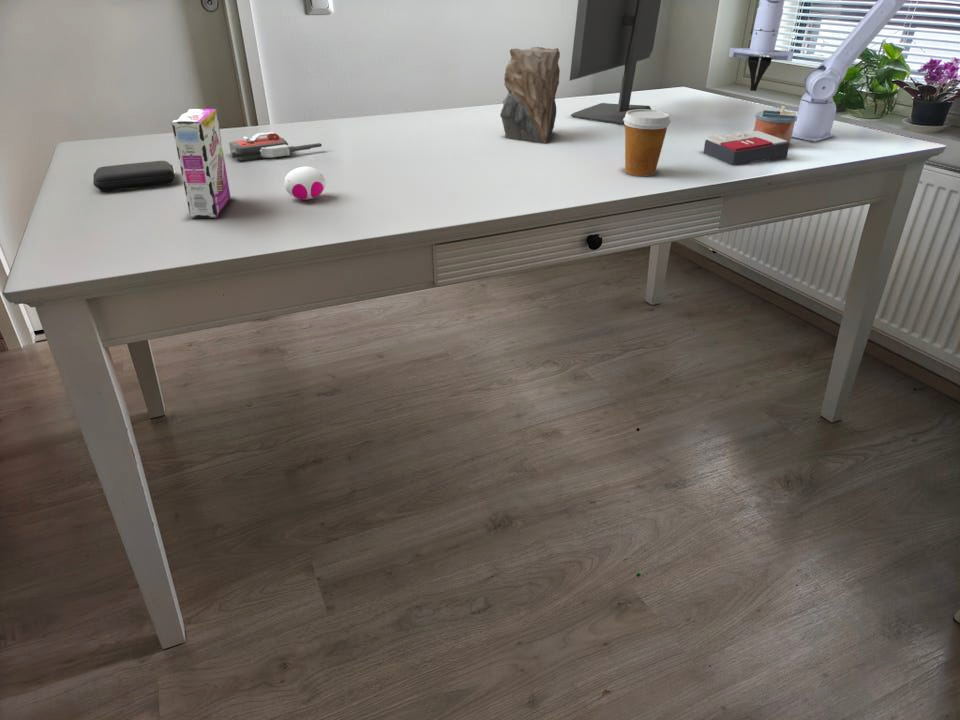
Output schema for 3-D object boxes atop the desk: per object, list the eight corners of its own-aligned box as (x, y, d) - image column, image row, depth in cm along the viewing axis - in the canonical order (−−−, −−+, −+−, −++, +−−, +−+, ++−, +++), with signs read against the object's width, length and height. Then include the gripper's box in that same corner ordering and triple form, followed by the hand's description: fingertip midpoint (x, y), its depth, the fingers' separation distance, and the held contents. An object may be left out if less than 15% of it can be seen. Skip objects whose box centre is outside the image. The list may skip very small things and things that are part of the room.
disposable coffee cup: (636, 181, 144) (644, 120, 137) (608, 169, 151) (614, 111, 145) (672, 175, 147) (681, 116, 141) (643, 163, 155) (651, 107, 148)
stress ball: (291, 220, 131) (290, 198, 126) (282, 186, 134) (280, 163, 128) (331, 213, 134) (331, 191, 128) (321, 180, 137) (321, 157, 131)
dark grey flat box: (704, 136, 161) (758, 128, 165) (702, 155, 163) (755, 146, 167) (735, 148, 152) (791, 139, 156) (732, 168, 155) (787, 158, 159)
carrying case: (173, 170, 146) (95, 179, 141) (170, 156, 145) (91, 164, 139) (178, 185, 138) (95, 194, 133) (174, 169, 137) (91, 178, 131)
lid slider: (780, 115, 165) (782, 107, 165) (780, 113, 168) (782, 105, 167) (794, 117, 165) (796, 109, 164) (794, 114, 167) (796, 106, 166)
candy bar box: (219, 218, 123) (200, 122, 114) (189, 219, 122) (169, 122, 114) (232, 197, 132) (216, 107, 124) (205, 198, 132) (187, 107, 123)
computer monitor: (619, 99, 214) (636, -53, 193) (669, 106, 206) (692, -51, 185) (545, 126, 184) (555, -51, 163) (601, 135, 176) (619, -49, 155)
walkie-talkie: (236, 164, 151) (324, 152, 160) (232, 143, 148) (321, 132, 158) (224, 155, 157) (309, 143, 166) (221, 135, 155) (307, 124, 164)
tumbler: (749, 146, 168) (755, 115, 164) (750, 137, 176) (756, 107, 172) (790, 150, 165) (798, 118, 162) (790, 141, 173) (797, 110, 169)
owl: (498, 137, 173) (500, 49, 163) (518, 126, 183) (522, 43, 172) (545, 143, 168) (551, 53, 158) (564, 132, 178) (570, 47, 168)
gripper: (733, 30, 166) (721, 90, 173) (798, 34, 162) (784, 95, 169) (735, 27, 172) (724, 85, 179) (798, 30, 168) (784, 90, 175)
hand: (753, 90), depth 174 cm, fingers closed
